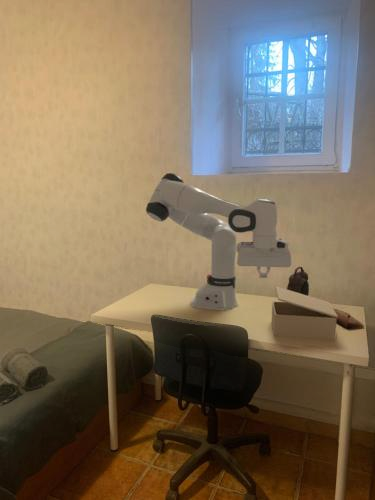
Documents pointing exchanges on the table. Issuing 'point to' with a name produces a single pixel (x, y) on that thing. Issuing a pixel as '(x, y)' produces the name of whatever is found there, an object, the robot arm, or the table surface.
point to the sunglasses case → (347, 320)
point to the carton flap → (305, 301)
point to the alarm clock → (299, 282)
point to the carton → (301, 322)
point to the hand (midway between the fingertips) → (263, 277)
